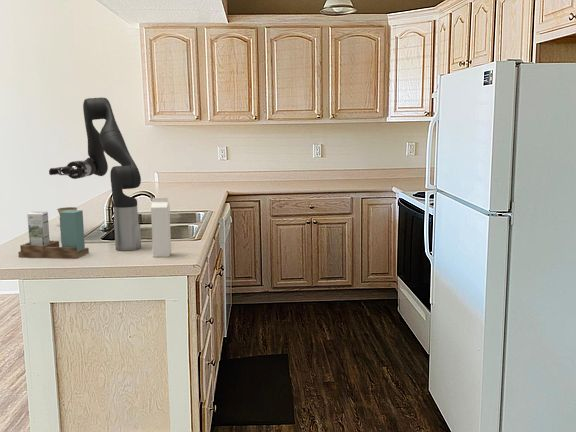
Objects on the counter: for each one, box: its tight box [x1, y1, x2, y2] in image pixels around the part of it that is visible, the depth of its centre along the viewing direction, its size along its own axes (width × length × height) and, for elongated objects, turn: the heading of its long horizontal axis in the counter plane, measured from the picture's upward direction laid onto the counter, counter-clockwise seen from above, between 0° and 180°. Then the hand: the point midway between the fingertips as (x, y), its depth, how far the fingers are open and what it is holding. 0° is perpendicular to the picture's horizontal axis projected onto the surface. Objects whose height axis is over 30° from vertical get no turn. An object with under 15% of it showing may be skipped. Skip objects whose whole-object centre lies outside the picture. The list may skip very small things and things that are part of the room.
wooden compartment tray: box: [18, 240, 90, 260], centre depth 220 cm, size 23×10×4 cm, turn 83°
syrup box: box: [26, 211, 51, 245], centre depth 220 cm, size 6×6×14 cm
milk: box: [150, 197, 172, 258], centre depth 218 cm, size 6×6×22 cm
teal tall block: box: [59, 209, 86, 252], centre depth 218 cm, size 7×6×15 cm
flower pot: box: [56, 206, 78, 216], centre depth 285 cm, size 9×9×9 cm
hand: (60, 172), depth 236 cm, fingers open, 8 cm apart
